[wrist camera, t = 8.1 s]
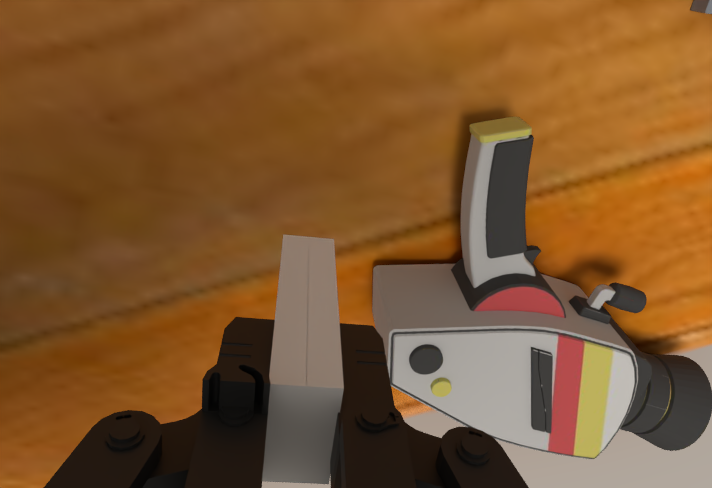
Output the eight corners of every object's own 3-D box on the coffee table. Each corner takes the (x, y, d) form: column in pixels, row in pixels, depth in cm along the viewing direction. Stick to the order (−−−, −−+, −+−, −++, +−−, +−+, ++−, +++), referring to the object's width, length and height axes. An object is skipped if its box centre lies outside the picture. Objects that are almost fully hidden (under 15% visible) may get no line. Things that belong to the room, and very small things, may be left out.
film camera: (757, 208, 34) (613, 403, 39) (455, 85, 29) (342, 328, 35) (861, 268, 27) (672, 489, 33) (499, 125, 23) (353, 412, 28)
